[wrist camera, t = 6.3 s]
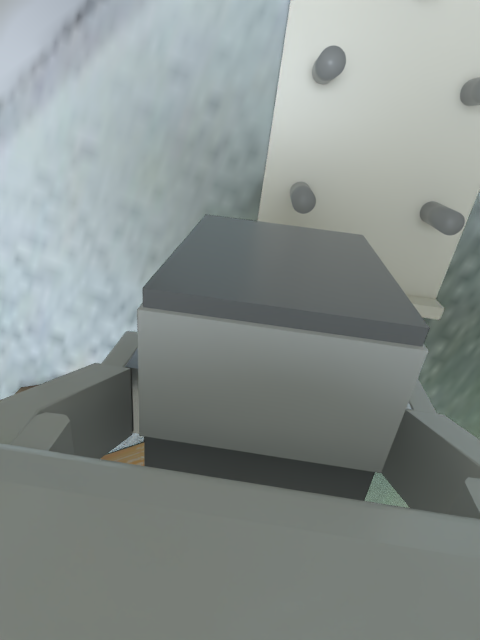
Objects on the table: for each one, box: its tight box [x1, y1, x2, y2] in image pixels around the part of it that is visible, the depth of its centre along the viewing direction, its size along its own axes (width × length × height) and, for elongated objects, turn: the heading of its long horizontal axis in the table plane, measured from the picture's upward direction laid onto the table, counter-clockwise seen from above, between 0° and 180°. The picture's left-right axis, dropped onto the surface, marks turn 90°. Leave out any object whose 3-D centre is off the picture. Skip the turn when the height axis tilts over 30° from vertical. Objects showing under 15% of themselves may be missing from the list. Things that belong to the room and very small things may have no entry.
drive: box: [137, 214, 430, 501], centre depth 9 cm, size 4×8×5 cm, turn 174°
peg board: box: [257, 0, 480, 320], centre depth 20 cm, size 12×18×4 cm, turn 172°
